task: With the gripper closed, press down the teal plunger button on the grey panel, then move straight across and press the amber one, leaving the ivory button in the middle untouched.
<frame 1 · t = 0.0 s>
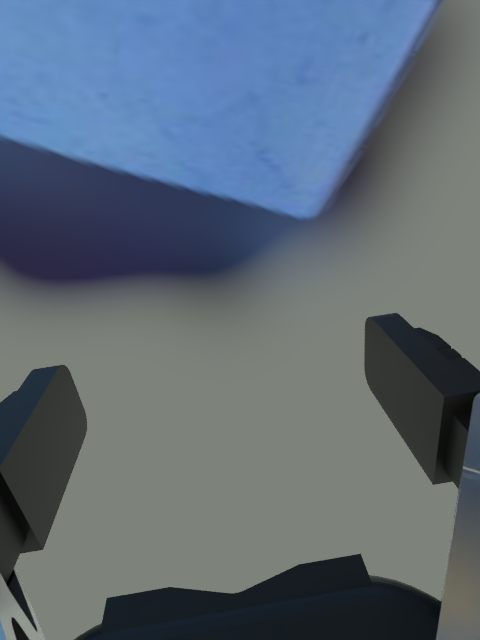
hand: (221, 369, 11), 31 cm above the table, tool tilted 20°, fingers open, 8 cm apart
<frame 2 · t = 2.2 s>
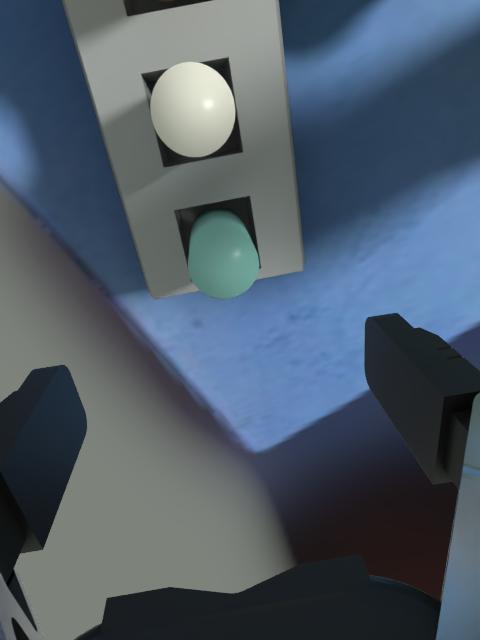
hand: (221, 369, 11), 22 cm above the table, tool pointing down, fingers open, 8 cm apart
panel: (195, 117, 28), on the table
button ivory: (194, 113, 20), point 9 cm above the table, slide at 0.0 cm
button teal: (221, 249, 23), point 9 cm above the table, slide at 0.0 cm
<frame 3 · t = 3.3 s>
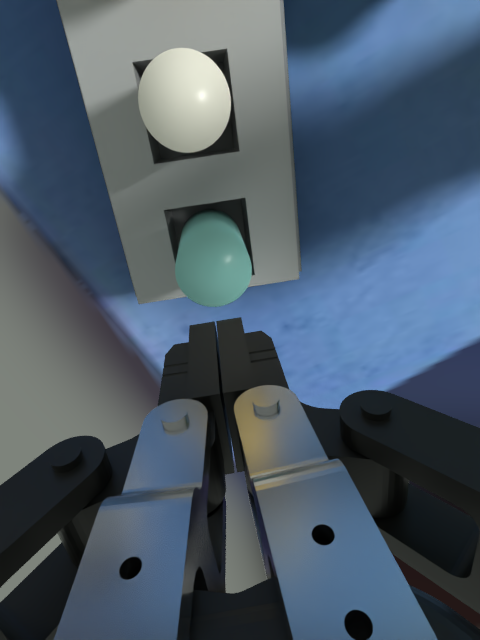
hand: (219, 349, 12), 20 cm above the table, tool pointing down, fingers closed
panel: (191, 114, 26), on the table
button ivory: (187, 107, 18), point 9 cm above the table, slide at 0.0 cm
button teal: (212, 253, 21), point 9 cm above the table, slide at 0.0 cm
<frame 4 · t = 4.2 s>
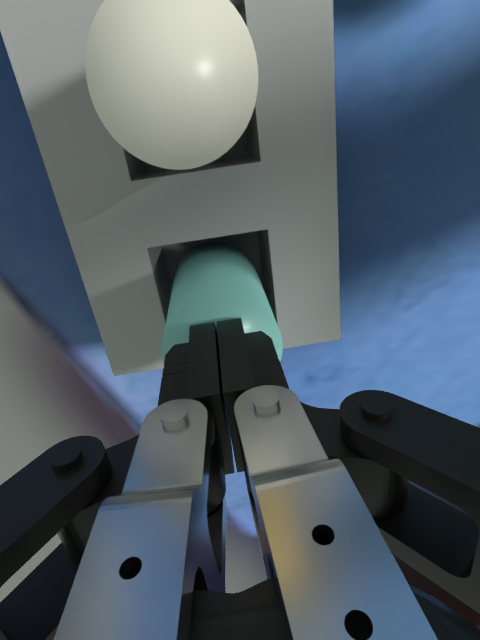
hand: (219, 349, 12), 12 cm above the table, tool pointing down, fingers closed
panel: (189, 107, 19), on the table
button ivory: (180, 91, 11), point 9 cm above the table, slide at 0.0 cm
button teal: (218, 311, 14), point 9 cm above the table, slide at 0.4 cm, touching gripper
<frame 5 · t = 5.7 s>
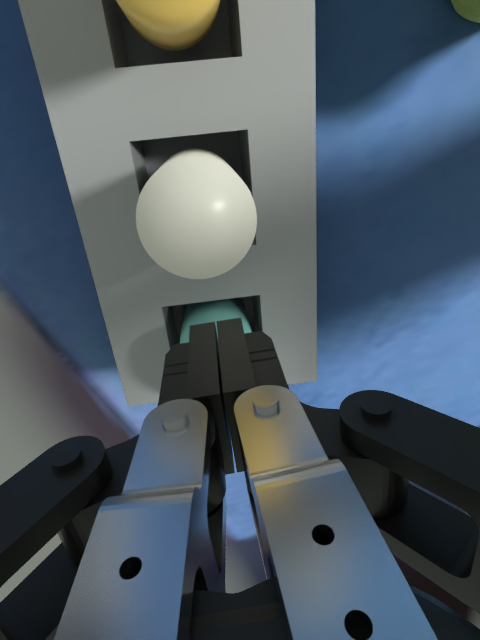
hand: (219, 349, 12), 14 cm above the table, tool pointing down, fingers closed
panel: (197, 177, 23), on the table
button ivory: (197, 205, 15), point 9 cm above the table, slide at 0.0 cm
button teal: (216, 340, 20), point 7 cm above the table, slide at 2.4 cm
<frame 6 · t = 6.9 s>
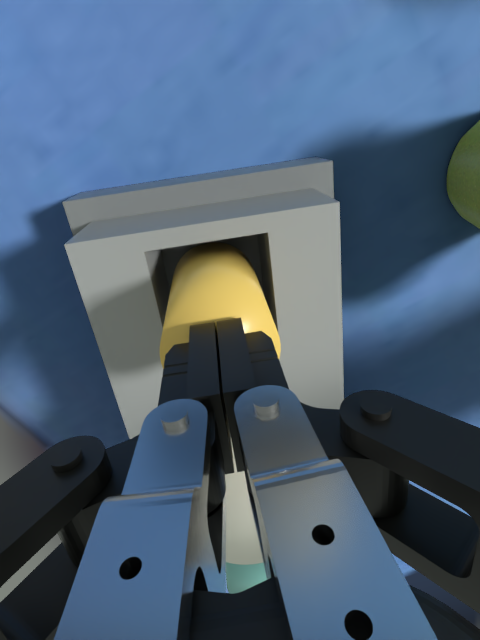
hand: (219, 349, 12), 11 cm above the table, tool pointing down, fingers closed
panel: (230, 358, 25), on the table
button amber: (217, 311, 14), point 8 cm above the table, slide at 0.8 cm, touching gripper
button ivory: (244, 467, 17), point 9 cm above the table, slide at 0.0 cm
button teal: (256, 526, 22), point 7 cm above the table, slide at 2.4 cm
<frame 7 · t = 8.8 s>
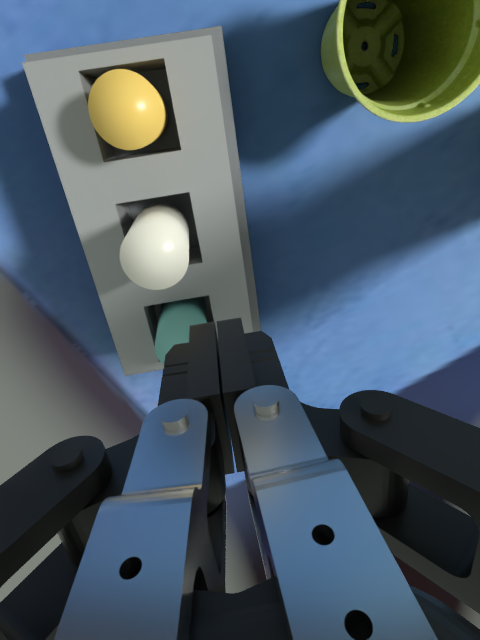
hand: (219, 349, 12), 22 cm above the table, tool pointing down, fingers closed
panel: (166, 212, 32), on the table
button amber: (133, 112, 23), point 7 cm above the table, slide at 2.4 cm
button ivory: (158, 243, 24), point 9 cm above the table, slide at 0.0 cm
plant pot: (360, 49, 28), on the table
button teal: (183, 327, 29), point 7 cm above the table, slide at 2.4 cm
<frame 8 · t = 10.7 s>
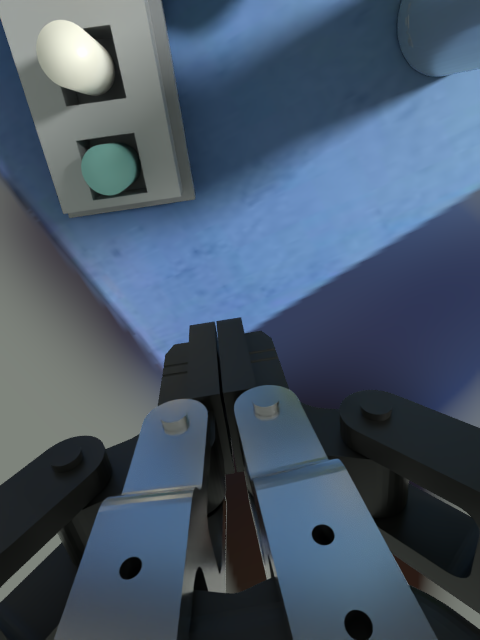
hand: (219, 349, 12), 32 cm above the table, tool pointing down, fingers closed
panel: (107, 78, 35), on the table
button ivory: (80, 62, 27), point 9 cm above the table, slide at 0.0 cm
button teal: (113, 167, 33), point 7 cm above the table, slide at 2.4 cm
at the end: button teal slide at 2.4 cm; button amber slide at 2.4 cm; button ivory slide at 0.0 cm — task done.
